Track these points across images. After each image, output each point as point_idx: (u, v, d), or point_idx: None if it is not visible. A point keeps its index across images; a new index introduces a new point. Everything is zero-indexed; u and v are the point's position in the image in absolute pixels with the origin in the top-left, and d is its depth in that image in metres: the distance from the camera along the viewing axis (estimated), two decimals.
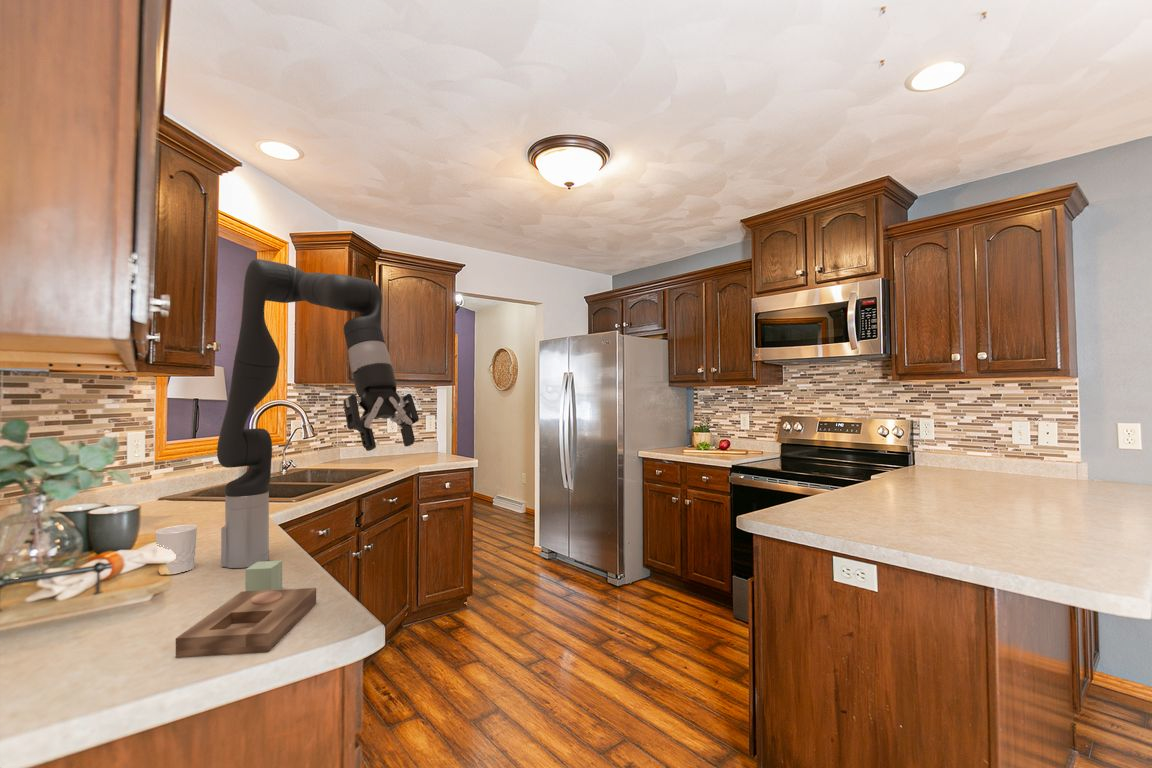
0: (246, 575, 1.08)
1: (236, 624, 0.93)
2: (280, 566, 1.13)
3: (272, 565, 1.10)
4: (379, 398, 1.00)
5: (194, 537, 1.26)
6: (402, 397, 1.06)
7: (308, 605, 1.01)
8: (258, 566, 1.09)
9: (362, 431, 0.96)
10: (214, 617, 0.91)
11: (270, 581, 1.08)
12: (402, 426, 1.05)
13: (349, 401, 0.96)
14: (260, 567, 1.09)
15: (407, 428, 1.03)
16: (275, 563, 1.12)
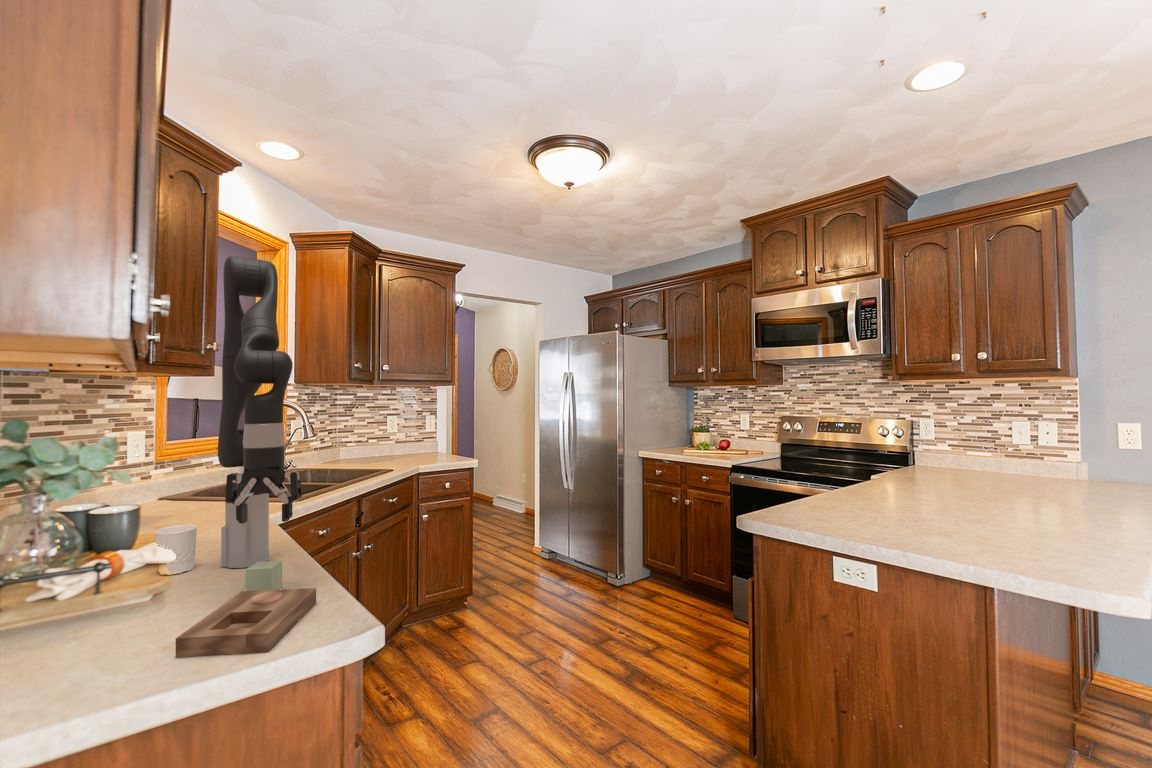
0: (246, 575, 1.08)
1: (236, 624, 0.93)
2: (280, 566, 1.13)
3: (272, 565, 1.10)
4: (252, 479, 1.09)
5: (194, 537, 1.26)
6: (288, 474, 1.11)
7: (308, 605, 1.01)
8: (258, 566, 1.09)
9: None
10: (214, 617, 0.91)
11: (270, 581, 1.08)
12: None
13: None
14: (260, 567, 1.09)
15: (282, 506, 1.10)
16: (275, 563, 1.12)
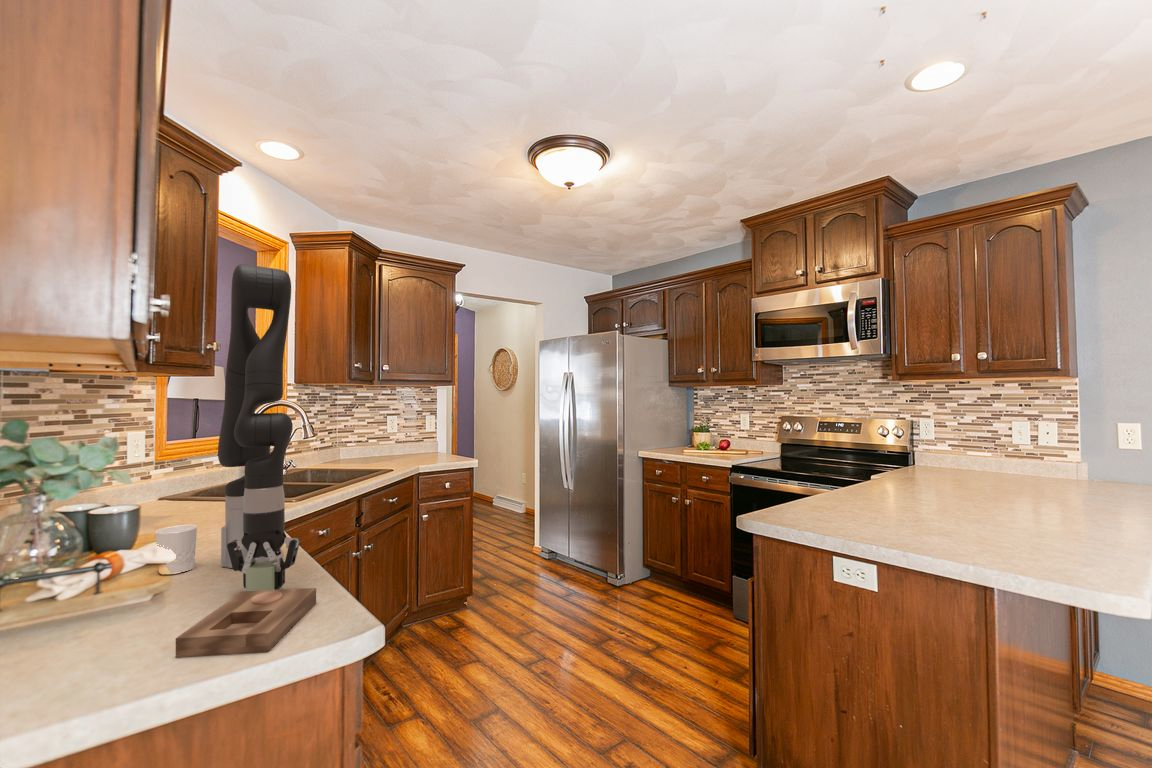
0: (246, 575, 1.08)
1: (236, 624, 0.93)
2: None
3: (272, 565, 1.10)
4: (252, 544, 1.09)
5: (194, 537, 1.26)
6: (288, 540, 1.11)
7: (308, 605, 1.01)
8: (258, 566, 1.09)
9: None
10: (214, 617, 0.91)
11: (270, 581, 1.08)
12: None
13: None
14: (261, 566, 1.09)
15: None
16: None
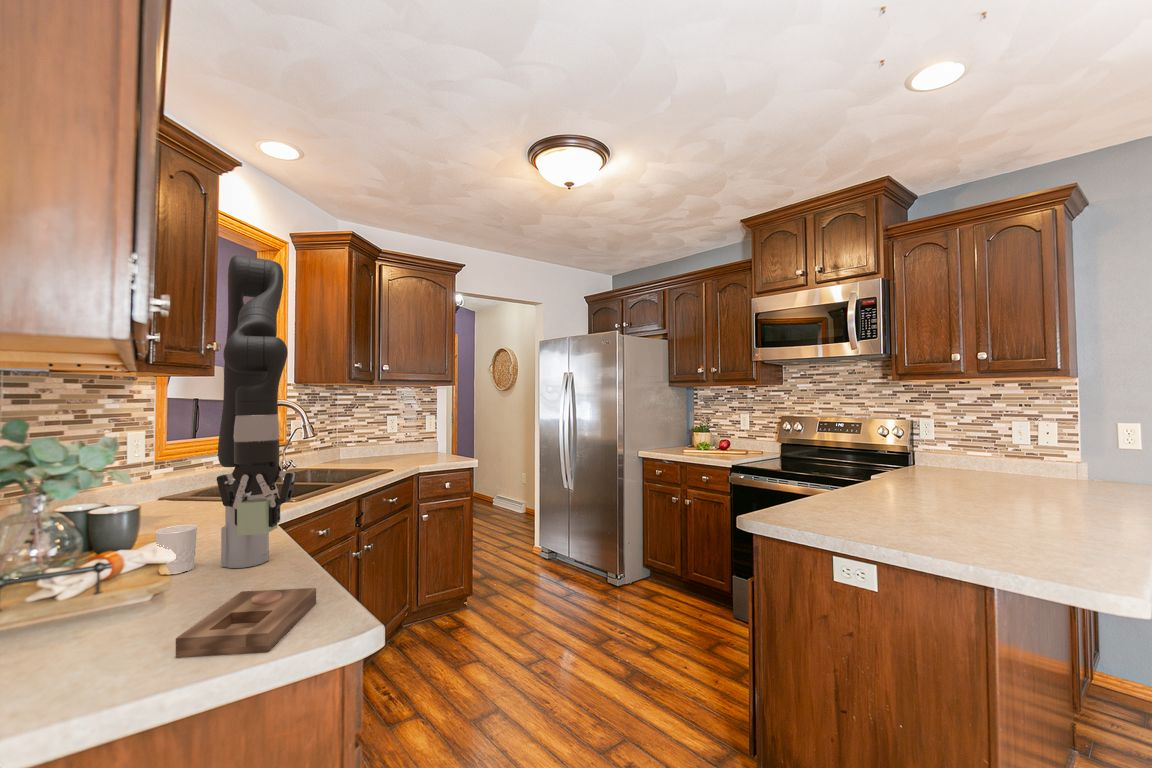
0: (238, 510, 0.99)
1: (236, 624, 0.93)
2: None
3: (266, 500, 1.01)
4: (243, 476, 1.00)
5: (194, 537, 1.26)
6: (284, 473, 1.02)
7: (308, 605, 1.01)
8: (251, 501, 1.00)
9: None
10: (214, 617, 0.91)
11: (264, 516, 0.99)
12: None
13: None
14: (253, 501, 1.00)
15: (269, 510, 1.01)
16: None
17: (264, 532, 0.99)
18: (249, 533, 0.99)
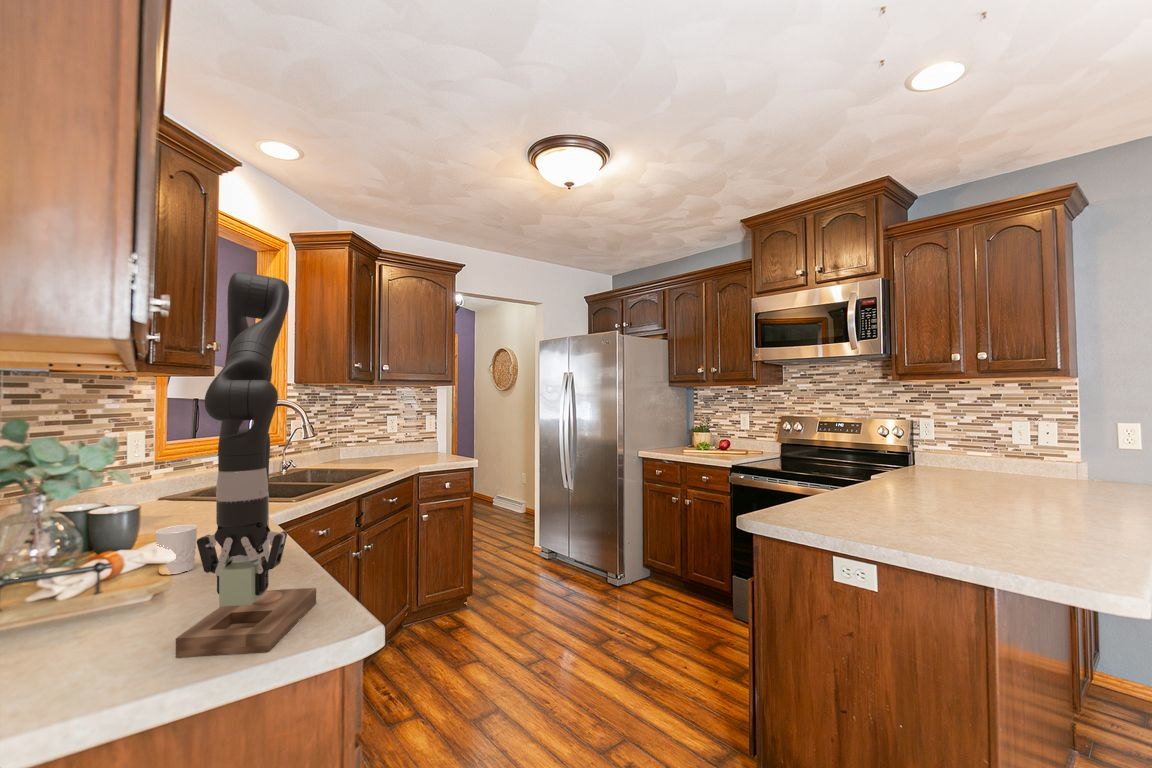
0: (220, 577, 0.88)
1: (236, 624, 0.93)
2: None
3: (252, 565, 0.90)
4: (227, 539, 0.89)
5: (194, 537, 1.26)
6: (272, 534, 0.91)
7: (308, 605, 1.01)
8: (235, 567, 0.89)
9: (218, 575, 0.90)
10: (214, 617, 0.91)
11: (250, 585, 0.88)
12: None
13: None
14: (238, 567, 0.89)
15: (255, 577, 0.90)
16: None
17: (249, 603, 0.88)
18: (233, 604, 0.88)
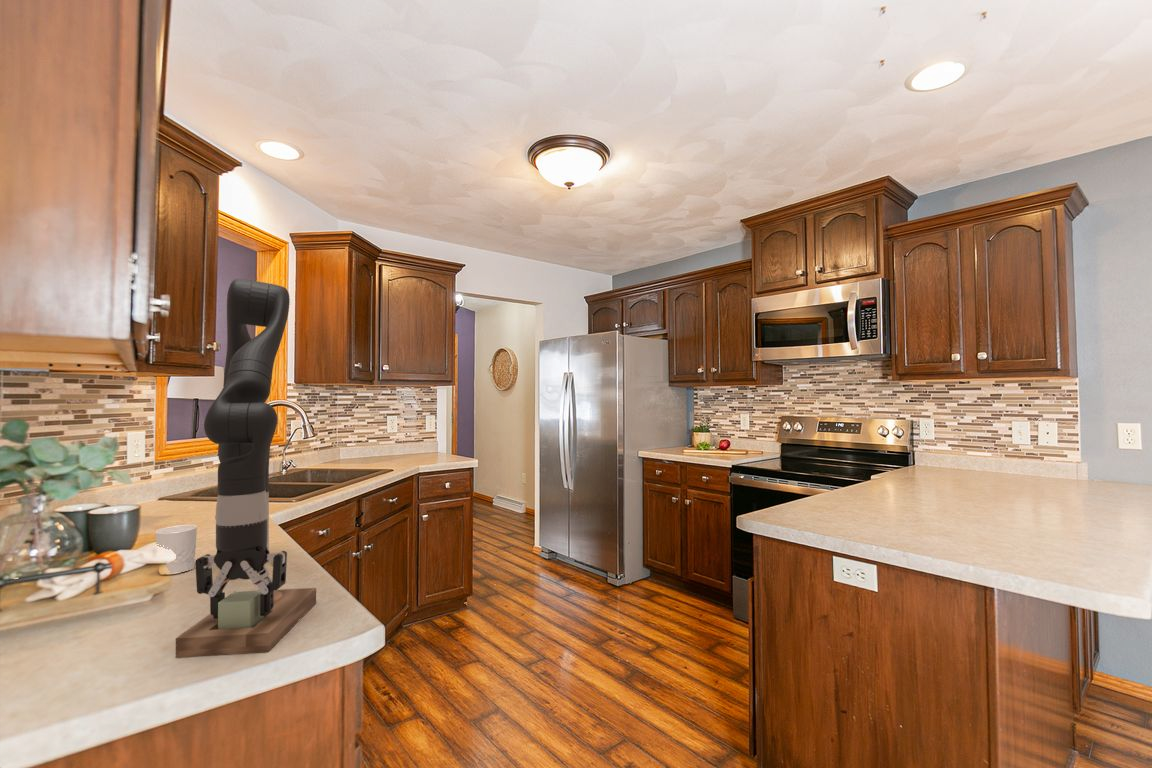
0: (219, 610, 0.88)
1: None
2: None
3: (251, 597, 0.90)
4: (226, 563, 0.88)
5: (194, 537, 1.26)
6: (272, 556, 0.91)
7: (308, 605, 1.01)
8: (234, 599, 0.89)
9: None
10: None
11: (249, 617, 0.88)
12: None
13: None
14: (237, 599, 0.89)
15: (260, 597, 0.90)
16: (255, 594, 0.91)
17: None
18: None
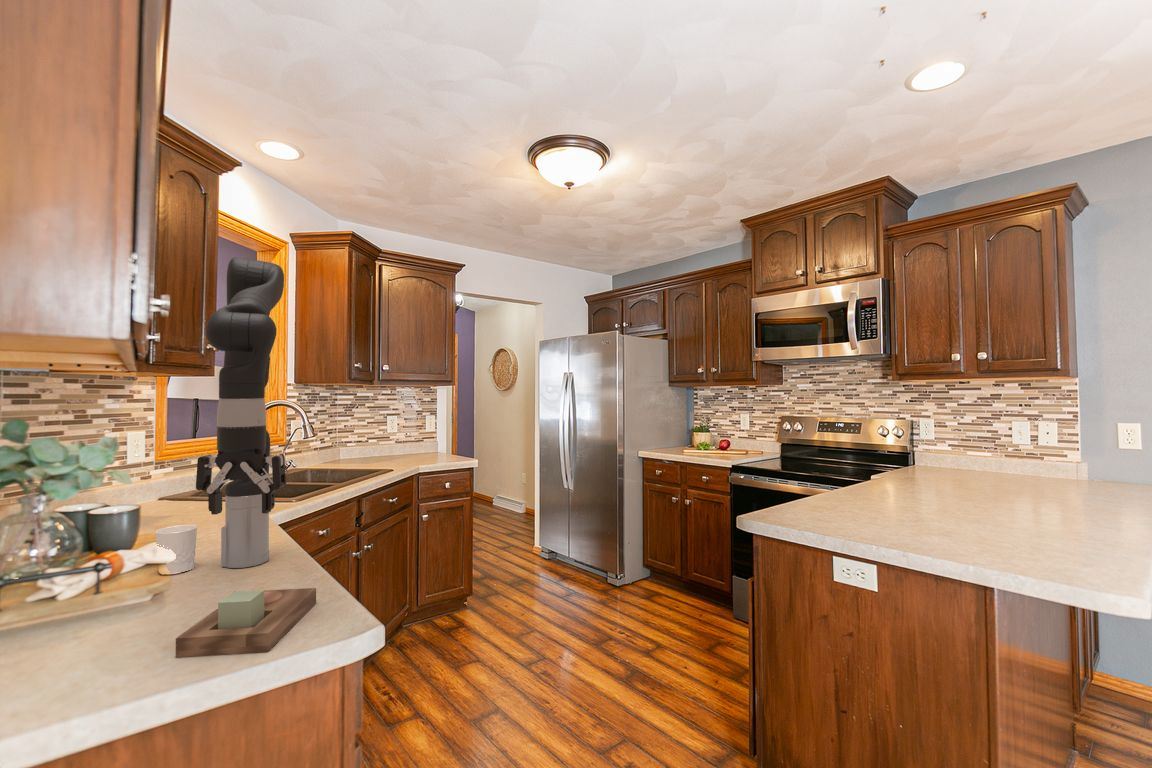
0: (219, 610, 0.88)
1: None
2: (262, 597, 0.92)
3: (251, 597, 0.90)
4: (227, 463, 0.93)
5: (194, 537, 1.26)
6: (270, 458, 0.95)
7: (308, 605, 1.01)
8: (234, 599, 0.89)
9: None
10: (214, 617, 0.91)
11: (249, 617, 0.88)
12: None
13: None
14: (237, 599, 0.89)
15: None
16: (255, 594, 0.91)
17: None
18: None
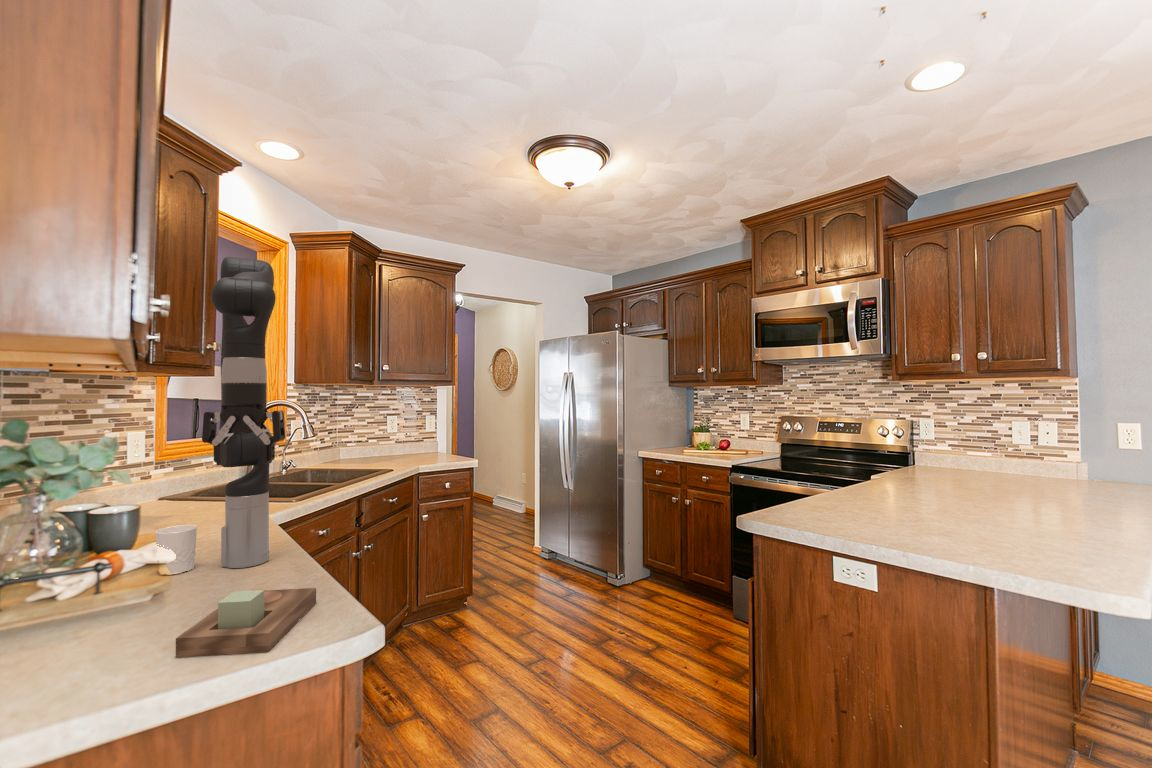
0: (219, 610, 0.88)
1: None
2: (262, 597, 0.92)
3: (251, 597, 0.90)
4: (231, 417, 1.01)
5: (194, 537, 1.26)
6: (270, 413, 1.03)
7: (308, 605, 1.01)
8: (234, 599, 0.89)
9: None
10: (214, 617, 0.91)
11: (249, 617, 0.88)
12: None
13: None
14: (237, 599, 0.89)
15: None
16: (255, 594, 0.91)
17: None
18: None
